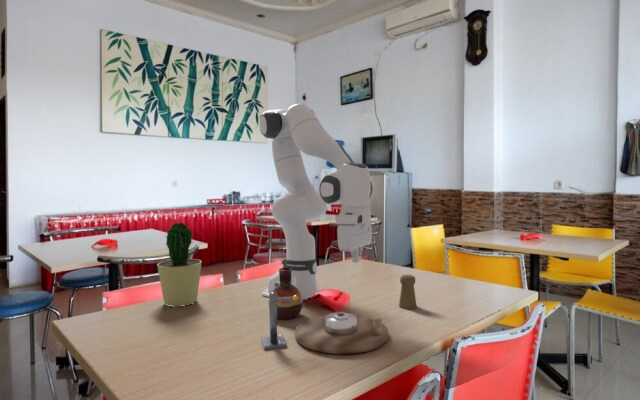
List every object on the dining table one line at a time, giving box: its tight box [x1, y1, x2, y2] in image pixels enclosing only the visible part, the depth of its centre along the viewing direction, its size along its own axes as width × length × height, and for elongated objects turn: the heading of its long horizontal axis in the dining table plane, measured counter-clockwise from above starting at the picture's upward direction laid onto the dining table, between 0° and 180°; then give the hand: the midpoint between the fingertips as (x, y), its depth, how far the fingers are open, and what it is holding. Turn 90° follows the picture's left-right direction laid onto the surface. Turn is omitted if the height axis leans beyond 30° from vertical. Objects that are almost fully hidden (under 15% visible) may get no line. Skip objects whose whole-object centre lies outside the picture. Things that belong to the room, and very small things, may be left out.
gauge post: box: [260, 292, 299, 351], centre depth 110 cm, size 10×6×14 cm, turn 105°
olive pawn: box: [398, 274, 418, 310], centre depth 141 cm, size 6×6×11 cm
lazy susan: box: [294, 314, 389, 355], centre depth 115 cm, size 26×26×6 cm
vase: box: [272, 267, 304, 320], centre depth 133 cm, size 11×11×15 cm
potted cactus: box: [156, 221, 202, 306], centre depth 148 cm, size 15×15×30 cm
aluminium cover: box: [325, 311, 357, 336], centre depth 114 cm, size 9×9×4 cm
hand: (356, 261), depth 123 cm, fingers closed
